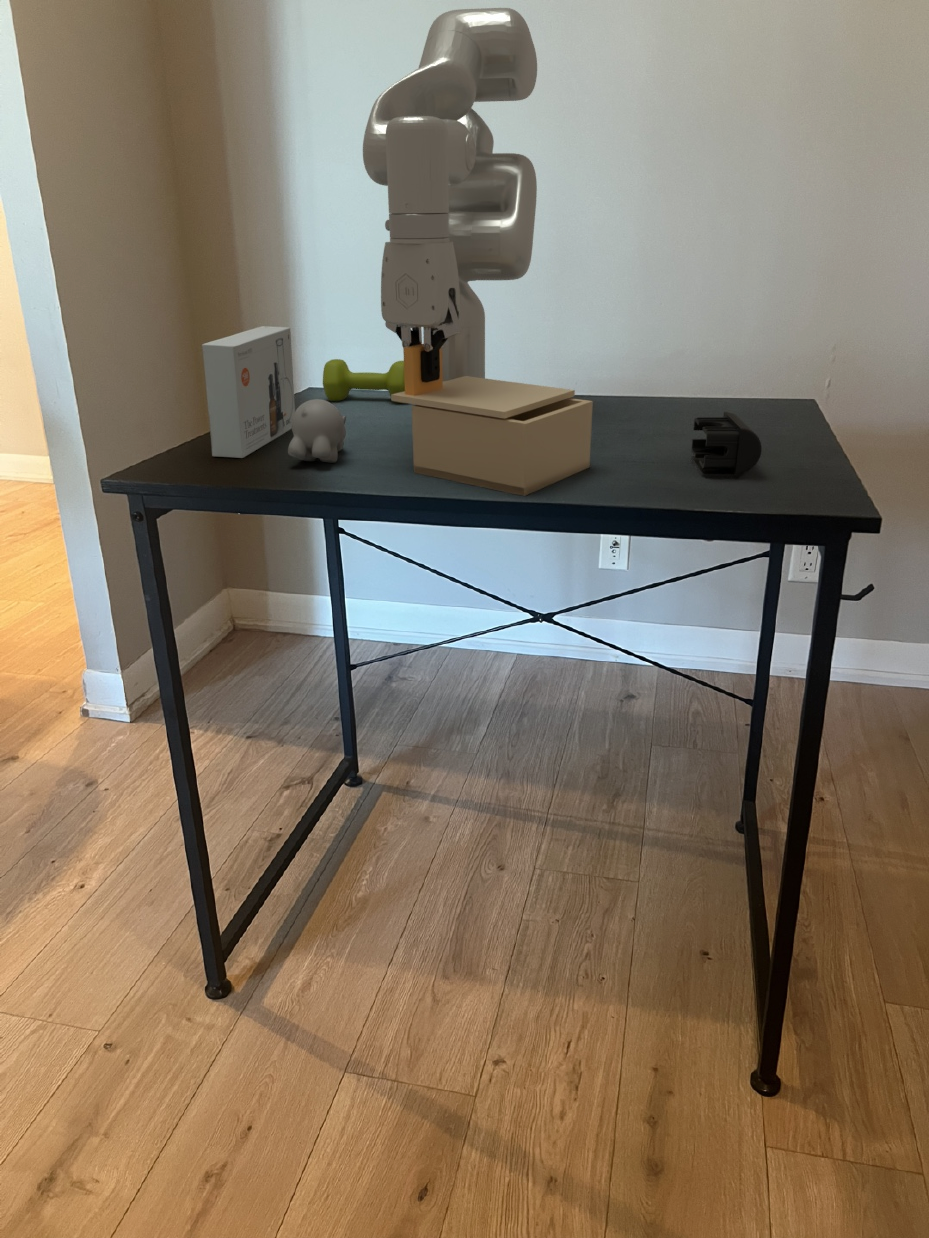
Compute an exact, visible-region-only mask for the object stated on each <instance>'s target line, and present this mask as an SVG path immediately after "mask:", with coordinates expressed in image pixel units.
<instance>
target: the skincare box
mask: <svg viewBox="0 0 929 1238" xmlns="http://www.w3.org/2000/svg"><path fill="white" fill-rule="evenodd" d="M201 351H202V358H203V359H202V360H203V368H204V369H203V370H204V380H205V391H206V402H207V411H208V422H209V432H210V433H209V434H210V444H211V445H210V446H211V456H212V457H220V458H222V457H223V458H238V459H243V458H245V457H247V456H249V455H250V454H253V453H254V452H255V451H256V450H258V449H260V448H262V447H263V446H265V445H267V444H269V443H270V442H272V441H274V440H275V439H277V438H279V437H281V436H282V435H285V434H286V432H289V431H291V430H292V418H293V415H294V413H295V411H296V405H295V404H296V403H295V388H294V387H295V386H294V372H293V371H294V370H293V354H292V353H293V352H292V335H291V327H290V326H289V327H288V326H287V327H286V326H270V325H269V326H267V325H265V326H264V325H261V326H257V327H255V328H251V329H248V330H245V331H242V332H241V331H240V332H238V333H235V334H233V335H230V336H229V335H228V336H226V337H222V338H219V339H216V340H211V341H209V342H206V343H205V342H204V343H203V344H201Z"/></svg>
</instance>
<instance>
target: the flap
mask: <svg viewBox="0 0 929 1238" xmlns="http://www.w3.org/2000/svg"><path fill="white" fill-rule="evenodd" d="M439 350H440V378H439V379H438V380H435V381H431V382H427V383H426V382H422V380H421V351H425V350H424V343H422V344H419V345H414V346H409V347H404V348H403V347H402V351H403V361H404V379H405V391H404V392H400V393H396V394H392V395H391V396H390V399H391V402H394V401H397V402H403V403H402V404H409V405H422V406H428V407H435V408H441V409H447V410H453V411H460V412H466V413H472V414H479V415H485V416H491V417H498V418H504V419H505V418H508V417H511V416H514V415H517V414H520V413H524V412H527V411H530V410H533V409H536V408H539V407H542V406H545V405H548V404H552V403H555V402H558V401H561V400H564V399H567V398H573V397H575V394H576V390H575V389H570V388H569V389H568V388H560V387H552V386H547V385H546V386H545V385H537V384H531V383H530V384H529V383H524V382H517V381H516V382H515V381H506V380H500V379H499V380H498V379H492V378H486V377H485V378H477V377H470V376H464V377H460V378H456V379H452V380H448V381H444V382H443V378H442V349H439Z"/></svg>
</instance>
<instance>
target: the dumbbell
mask: <svg viewBox="0 0 929 1238" xmlns="http://www.w3.org/2000/svg"><path fill="white" fill-rule="evenodd" d="M323 366H324V367H323V372H322V388H323V390H324V394H325V396H326V399H328V401H330V402H340V401H344V400H345V399H346V398H347V397H348V395H349V393H350V391H351V390H358V391H359V390H360V391H362V390H363V391H383V390H384V391H387V392H388V393H389V397H391V395H392V394H396V393H400V392H404V391H405V379H404V360H397V361H394V363H392V364H391V365H390V367H389V370H388V371H387V372H385V373H381V372H352V371H350V369H349V366H348V364H347V362H346V361H345V360H344V359H341V358H338V359H337V358H334V359H329V360H328V361H327V362H325V363H324V365H323ZM393 402H394V403H396V404H404V403H403V402H397V401H393Z"/></svg>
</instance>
